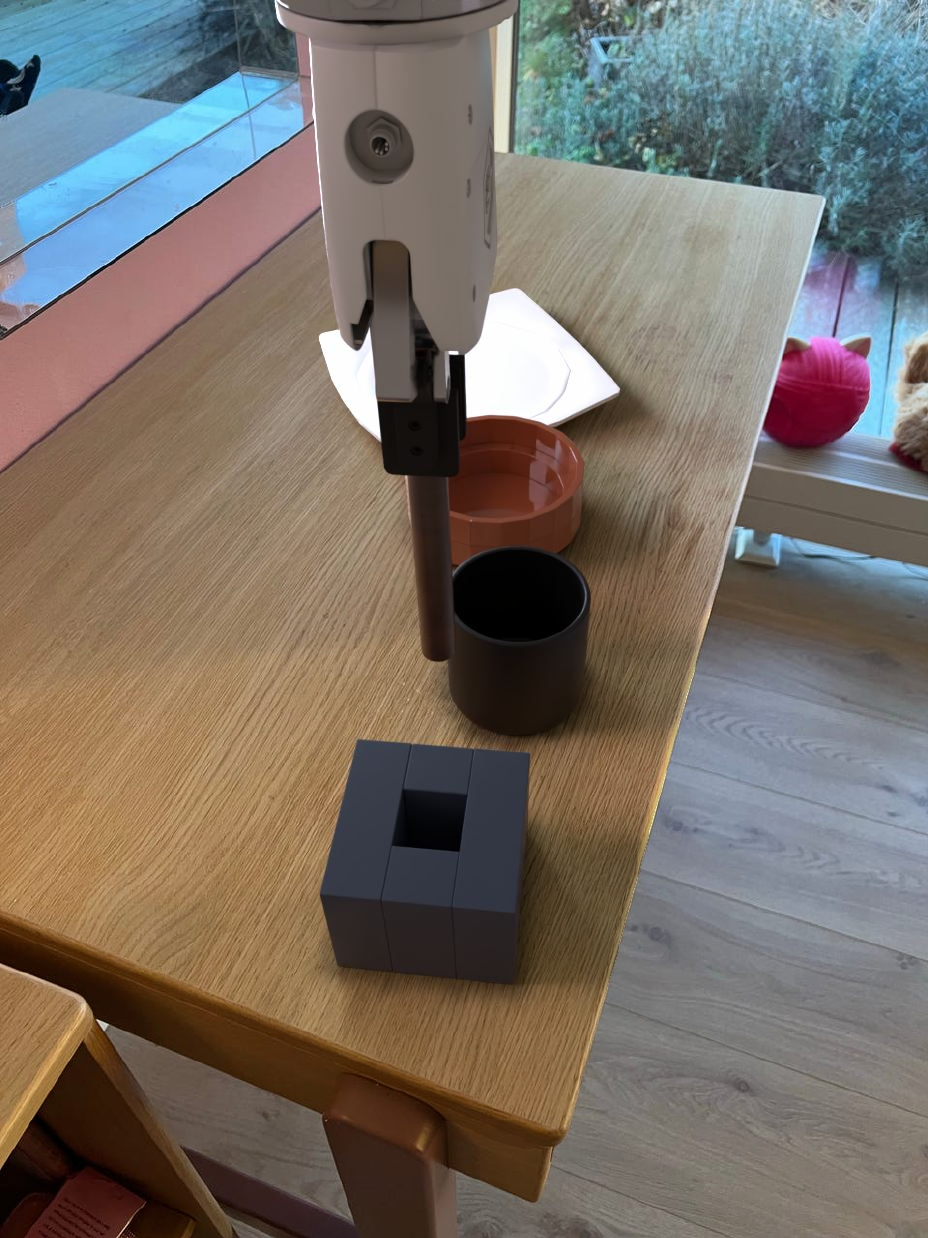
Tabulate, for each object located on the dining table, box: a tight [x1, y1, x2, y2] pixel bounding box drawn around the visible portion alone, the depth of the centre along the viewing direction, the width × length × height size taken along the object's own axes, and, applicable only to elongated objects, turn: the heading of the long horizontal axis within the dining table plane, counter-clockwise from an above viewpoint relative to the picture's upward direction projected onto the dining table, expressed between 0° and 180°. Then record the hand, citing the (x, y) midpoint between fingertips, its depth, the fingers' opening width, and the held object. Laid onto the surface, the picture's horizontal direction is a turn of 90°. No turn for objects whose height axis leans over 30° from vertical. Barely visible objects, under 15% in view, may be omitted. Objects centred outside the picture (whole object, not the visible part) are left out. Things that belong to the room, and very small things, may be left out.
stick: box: [407, 348, 456, 663], centre depth 46 cm, size 2×2×18 cm
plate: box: [318, 287, 621, 443], centre depth 97 cm, size 24×24×3 cm
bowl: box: [404, 415, 585, 567], centre depth 82 cm, size 14×14×6 cm
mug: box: [447, 546, 592, 736], centre depth 68 cm, size 9×12×9 cm
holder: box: [319, 738, 531, 985], centre depth 57 cm, size 10×10×8 cm
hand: (426, 451), depth 43 cm, fingers closed on stick, 1 cm apart
